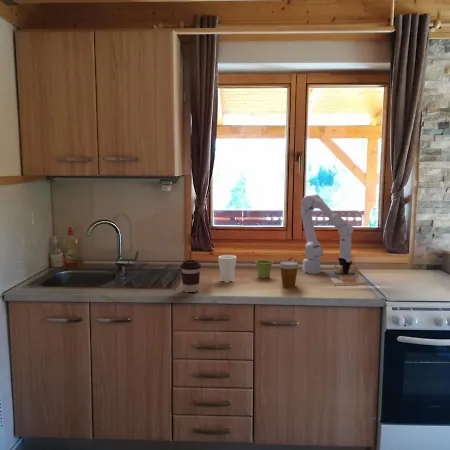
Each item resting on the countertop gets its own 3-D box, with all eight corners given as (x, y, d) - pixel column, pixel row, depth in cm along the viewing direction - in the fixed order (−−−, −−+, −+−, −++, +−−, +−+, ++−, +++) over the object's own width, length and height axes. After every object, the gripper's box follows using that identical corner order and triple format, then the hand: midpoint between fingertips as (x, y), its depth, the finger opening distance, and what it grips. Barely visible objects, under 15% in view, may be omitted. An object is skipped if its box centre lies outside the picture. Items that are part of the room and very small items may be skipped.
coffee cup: (182, 288, 235) (181, 259, 233) (201, 288, 235) (201, 259, 233) (179, 294, 225) (179, 263, 223) (200, 294, 225) (199, 263, 223)
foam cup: (215, 282, 246) (215, 257, 245) (222, 277, 255) (222, 254, 253) (232, 283, 243) (232, 259, 241) (238, 279, 251) (238, 255, 249)
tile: (342, 282, 239) (342, 278, 239) (339, 278, 246) (339, 275, 245) (356, 282, 239) (356, 278, 239) (352, 278, 246) (352, 274, 246)
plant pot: (260, 274, 262) (261, 259, 261) (275, 276, 257) (275, 261, 256) (252, 277, 255) (252, 262, 254) (267, 280, 249) (267, 264, 248)
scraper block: (336, 275, 246) (336, 266, 246) (334, 273, 250) (334, 265, 250) (355, 275, 246) (355, 266, 246) (352, 273, 250) (353, 265, 250)
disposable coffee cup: (287, 282, 245) (287, 260, 243) (302, 286, 238) (302, 262, 236) (275, 286, 238) (275, 262, 236) (290, 289, 231) (290, 266, 230)
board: (333, 285, 238) (334, 282, 238) (322, 272, 266) (322, 269, 266) (365, 285, 238) (365, 282, 238) (350, 271, 266) (350, 269, 266)
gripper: (356, 250, 239) (355, 276, 241) (349, 244, 253) (348, 269, 255) (343, 250, 239) (342, 276, 241) (336, 244, 253) (335, 269, 255)
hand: (344, 272), depth 248 cm, fingers closed on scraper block, 4 cm apart
